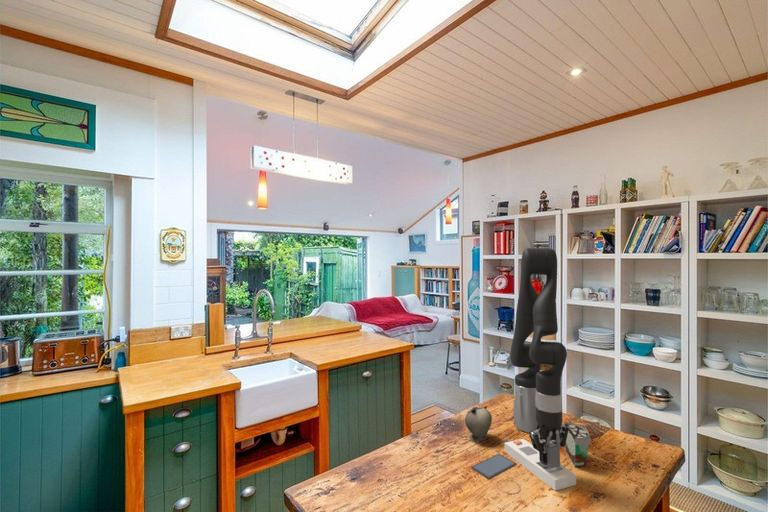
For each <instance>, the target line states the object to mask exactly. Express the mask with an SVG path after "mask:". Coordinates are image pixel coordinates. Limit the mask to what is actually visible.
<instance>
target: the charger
mask: <svg viewBox="0 0 768 512" xmlns="http://www.w3.org/2000/svg"><path fill="white" fill-rule="evenodd" d="M543 446H544V445H543V444H542V447H543ZM560 464H561V449H560V446H559V445H556V444H555V443H554V442H551V441H550V445H549V446H548V447H547V465H545V466H547V467H548V468H550V469H551V468H554V467H558V466H560Z"/></svg>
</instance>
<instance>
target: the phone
mask: <svg viewBox="0 0 768 512" xmlns="http://www.w3.org/2000/svg"><path fill="white" fill-rule="evenodd" d="M516 465H518V464H517V462H515V461H514V460H511V459H510V458H508V457H506V456H505V455H502V454H501V453H498V454H495V455H493V456H491V457H489V458H487V459H485V460H483V461H481V462H478V463H476V464H474V465H473V466H471V467H470V469H472V470H473V471H474V472H476V473H477V474H479V475H481V476H482V477H484V478H485V479H487V480H491V479H492V478H494V477H496V476H498V475H500V474H502V473H503V472H506V471H507V470H508V469H511V468H512V467H514V466H516Z"/></svg>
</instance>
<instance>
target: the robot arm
mask: <svg viewBox="0 0 768 512" xmlns="http://www.w3.org/2000/svg"><path fill="white" fill-rule="evenodd" d="M520 264H521V265H520V278H519V279H520V280H519V282H520V283H519V291H518V298H517V304H516V314H515V325H514V333H513V337H512V342H511V346H510V353H509V354H510V363H511V365H512V366H513V367H516V368H527V369H526V370H525V371H523V372H521V373H517V374H516V375H515V377H514V399H513V424H514V425H515V428H517V429H518V430H519V431H521V432H524V433H528V435H529V437H530V441H531V444H532V445H533V448H534V449H536V450H537V451H539V460H540V462H541V463H542V464H544V465H547V447H548V446H549V445H550V441H551V442H554V443H555V444H556V445H559V446H560V450H561V448H565V444H566V439H567V435H568V431H569V428H567V427H566V426H564V424H563V397H562V375H563V371H564V367H565V364H566V363H567V358H568V352H567V348H566V346H565V345H564V344H563V343H562V342H558V341H542V338H543V337H547V336H554V335H556V334H557V333H558V331H559V327H558V316H557V315H558V314H557V291H558V290H557V288H558V285H557V284H558V254H557V253H556V251H555V250H554V249H553V248H543V247H541V248H536V247H535V248H534V247H527V248H524V250H523V251H522V255H521V261H520ZM532 275H537V276H541V275H544V276H546V279H545V284H544V286H543V288H542V290H541V292H540V294H539V293H538V292H537V290H536V289H535V287H534V285H533V283H532V279H531V277H532ZM530 335H532V340H531V343H525V342H526V341H527V339H528V338H529V337H530ZM541 365H545V366H546V365H547V366H552V367H551V368H550V369H545V370H541ZM542 444H543V445H544V446H543V447H542Z"/></svg>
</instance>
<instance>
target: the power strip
mask: <svg viewBox="0 0 768 512" xmlns="http://www.w3.org/2000/svg"><path fill="white" fill-rule="evenodd" d="M504 441H505V442H504V452H505V453H506V454H508V455H509V456H510V457H511V458H512V459H514V460H515V461H516V462H518V463H519V464H520V465H522V466H523V467H524V468H525V469H527V470H528V471H529V472H530V473H532V474H533V475H535V477H537V478H538V479H540V480H541V481H542V482H544V484H546V485H547V486H548V487H550V489H552V490H554V491H555V492H557V491H558V490H562V489H566V488H569V487H573V486H576V485H577V474H576V473H575V472H573V471H572V470H570V469H569V468H567V467H566V466H565V465H563V464H561V463H560V466H558V467H554V468H551V469H550V468H548V467H547V466H545V465H544V464H542V463H541V462H540V460H539V451H537V450H536V449H534V448H533V445H532V443H530V442H529V441H527V440H526V439H524V438H521V439H515V440H512V441H511V440H510V439H508V438H505V440H504Z"/></svg>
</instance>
